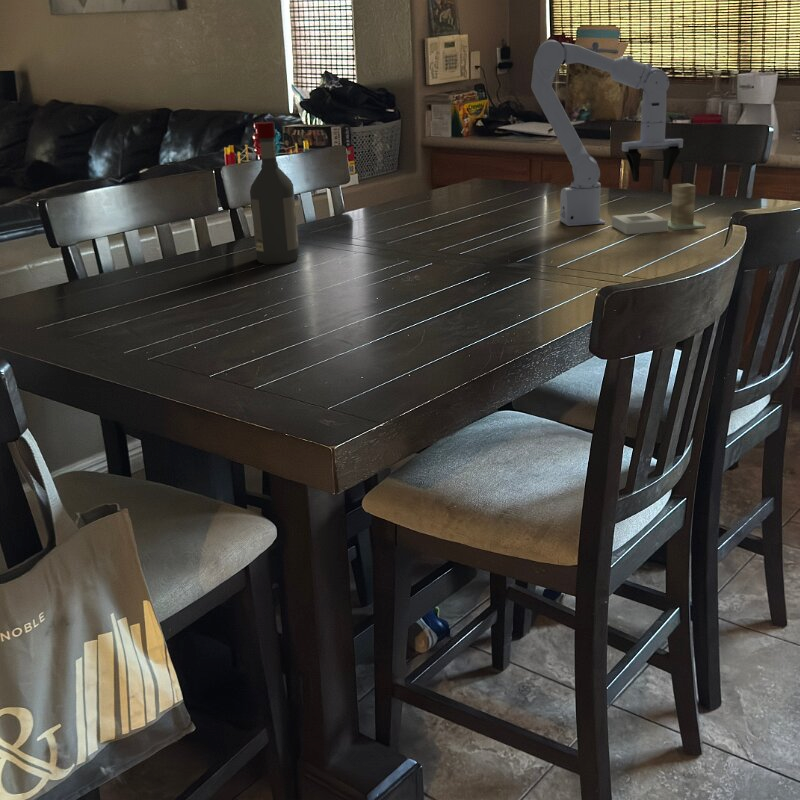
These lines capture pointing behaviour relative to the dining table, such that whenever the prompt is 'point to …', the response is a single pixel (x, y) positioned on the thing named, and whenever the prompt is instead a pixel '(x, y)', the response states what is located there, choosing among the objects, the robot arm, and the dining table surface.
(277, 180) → the liquor
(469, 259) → the dining table surface
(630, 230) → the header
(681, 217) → the plug
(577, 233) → the dining table surface
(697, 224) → the mat
